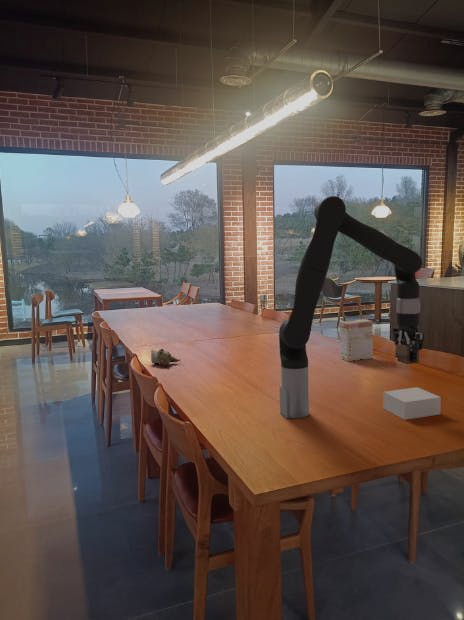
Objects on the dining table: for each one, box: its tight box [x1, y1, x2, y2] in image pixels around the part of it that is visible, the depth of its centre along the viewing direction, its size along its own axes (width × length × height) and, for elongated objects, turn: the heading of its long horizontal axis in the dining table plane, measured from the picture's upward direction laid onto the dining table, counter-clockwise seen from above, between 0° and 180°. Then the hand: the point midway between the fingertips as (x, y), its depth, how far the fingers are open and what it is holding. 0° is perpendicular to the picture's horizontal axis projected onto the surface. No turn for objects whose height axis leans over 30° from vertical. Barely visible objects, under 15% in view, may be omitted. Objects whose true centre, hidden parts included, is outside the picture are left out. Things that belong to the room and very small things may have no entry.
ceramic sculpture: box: [150, 348, 181, 367], centre depth 239 cm, size 11×9×15 cm
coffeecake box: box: [339, 318, 374, 362], centre depth 237 cm, size 15×7×20 cm, turn 108°
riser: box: [382, 386, 442, 421], centre depth 161 cm, size 14×12×6 cm
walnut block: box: [396, 343, 420, 365], centre depth 160 cm, size 5×5×6 cm
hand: (408, 359), depth 160 cm, fingers closed on walnut block, 5 cm apart
